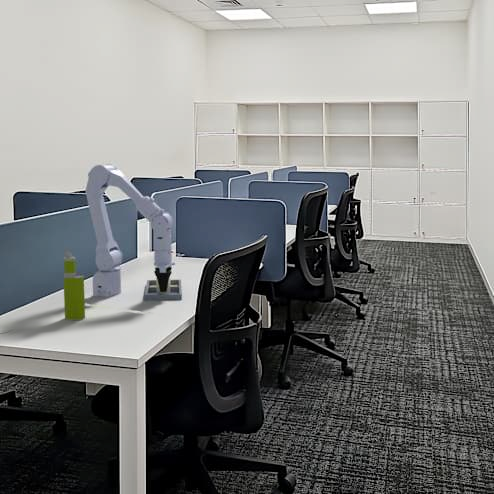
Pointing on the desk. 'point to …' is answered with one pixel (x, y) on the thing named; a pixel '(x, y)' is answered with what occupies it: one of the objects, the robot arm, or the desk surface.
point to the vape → (73, 290)
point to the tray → (152, 294)
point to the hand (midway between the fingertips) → (163, 289)
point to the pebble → (167, 288)
